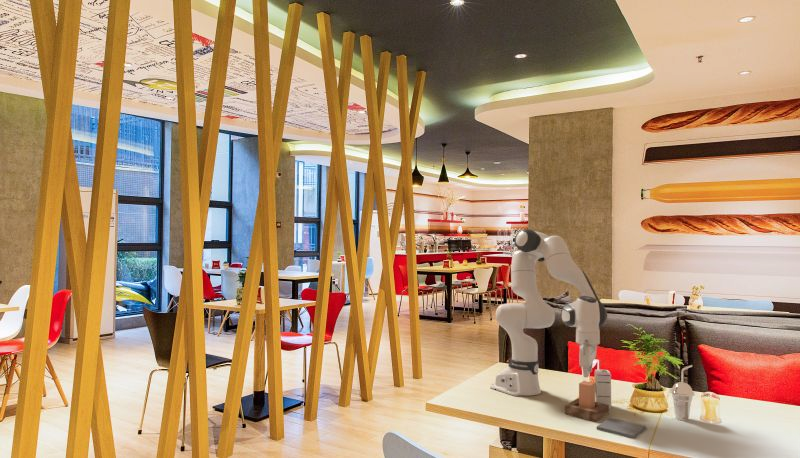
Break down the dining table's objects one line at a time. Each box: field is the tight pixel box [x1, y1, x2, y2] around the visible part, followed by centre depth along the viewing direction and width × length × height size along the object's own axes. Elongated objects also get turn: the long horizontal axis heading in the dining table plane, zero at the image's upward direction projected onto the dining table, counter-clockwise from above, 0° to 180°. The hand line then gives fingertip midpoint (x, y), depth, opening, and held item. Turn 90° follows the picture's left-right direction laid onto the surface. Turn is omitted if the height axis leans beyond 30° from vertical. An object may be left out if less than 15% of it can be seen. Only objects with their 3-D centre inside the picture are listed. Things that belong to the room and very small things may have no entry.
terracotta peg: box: [578, 380, 595, 409], centre depth 215 cm, size 4×4×12 cm
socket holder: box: [564, 397, 610, 423], centre depth 215 cm, size 12×12×4 cm
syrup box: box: [594, 369, 612, 410], centre depth 223 cm, size 6×6×14 cm
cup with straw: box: [669, 364, 696, 422], centre depth 210 cm, size 8×9×20 cm
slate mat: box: [596, 417, 647, 440], centre depth 199 cm, size 13×13×1 cm
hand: (587, 374), depth 214 cm, fingers open, 8 cm apart
